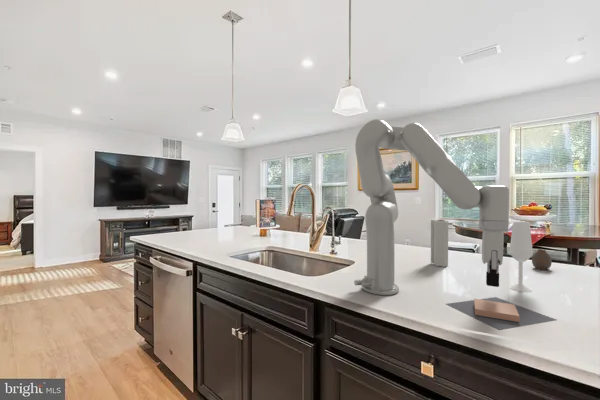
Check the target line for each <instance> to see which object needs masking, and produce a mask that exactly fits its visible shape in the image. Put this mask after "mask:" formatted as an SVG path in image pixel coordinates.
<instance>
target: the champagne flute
mask: <svg viewBox="0 0 600 400" xmlns="http://www.w3.org/2000/svg"><path fill="white" fill-rule="evenodd" d="M530 223H531V222H530V221H521V220H519V221H513V222H512V229H511V236H510V246H509V251H508V252H509V254H510V256H511V257H512V258H513V259H514V260H515V261H516V262H518V277H517V278H518V283H515V284H513V285H511V286H508V288H509V289H511V290H513V291H515V292H516V291H517V292H523V293H531V292H533V290H532V289H531V288H530V287H528V286H526V285H525V284H523V283H524V282H523V270H524V268H523V267H524V265H523V264H524V262H525V263H526V261H528V260H529V259H530V258H532V257H533V255H534V253H533V243H532V232H531V224H530Z"/></svg>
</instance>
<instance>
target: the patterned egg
mask: <svg viewBox="0 0 600 400" xmlns="http://www.w3.org/2000/svg"><path fill="white" fill-rule="evenodd" d="M531 264H532V266H533V267H534V268H535V269H536V268H537V270H541V271H547V270H548V269H550V268H551V266H552V257H551V256H550V254H549V253H548V252H547V251H546V249H543V248H538V250H537V251H535V252H534V253H533V255H532V256H531Z"/></svg>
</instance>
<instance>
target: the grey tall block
mask: <svg viewBox="0 0 600 400" xmlns="http://www.w3.org/2000/svg"><path fill="white" fill-rule="evenodd" d="M430 264H434V266H436V267H448V266H449V220H444V219H431V220H430Z"/></svg>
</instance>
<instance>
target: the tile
mask: <svg viewBox="0 0 600 400" xmlns="http://www.w3.org/2000/svg"><path fill="white" fill-rule="evenodd" d="M480 299H481V298H480ZM480 299H477V298H473V300H474V308H475V315H478V316H484V317H490V318H496V319H501V320H507V321H513V322H519V314H518V311H517V309H516V307H515V305H514V304H515V303H513V304H507V303H501V302H494V301H487V300H480Z"/></svg>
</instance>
